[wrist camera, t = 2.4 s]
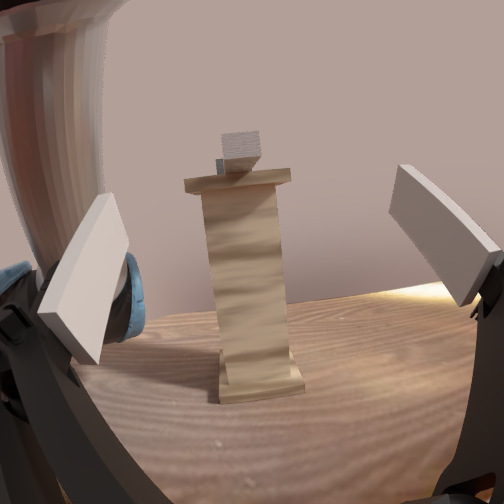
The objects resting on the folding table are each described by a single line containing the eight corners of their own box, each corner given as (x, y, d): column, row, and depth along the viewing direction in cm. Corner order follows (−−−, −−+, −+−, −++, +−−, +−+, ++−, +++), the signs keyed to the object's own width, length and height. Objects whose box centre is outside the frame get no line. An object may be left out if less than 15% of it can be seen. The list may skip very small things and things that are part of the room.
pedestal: (305, 392, 37) (289, 168, 32) (220, 404, 37) (183, 179, 31) (286, 348, 51) (271, 177, 46) (221, 356, 50) (196, 186, 45)
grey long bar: (274, 154, 21) (270, 117, 21) (210, 161, 21) (206, 123, 20) (249, 179, 45) (247, 160, 44) (218, 182, 44) (216, 164, 44)
